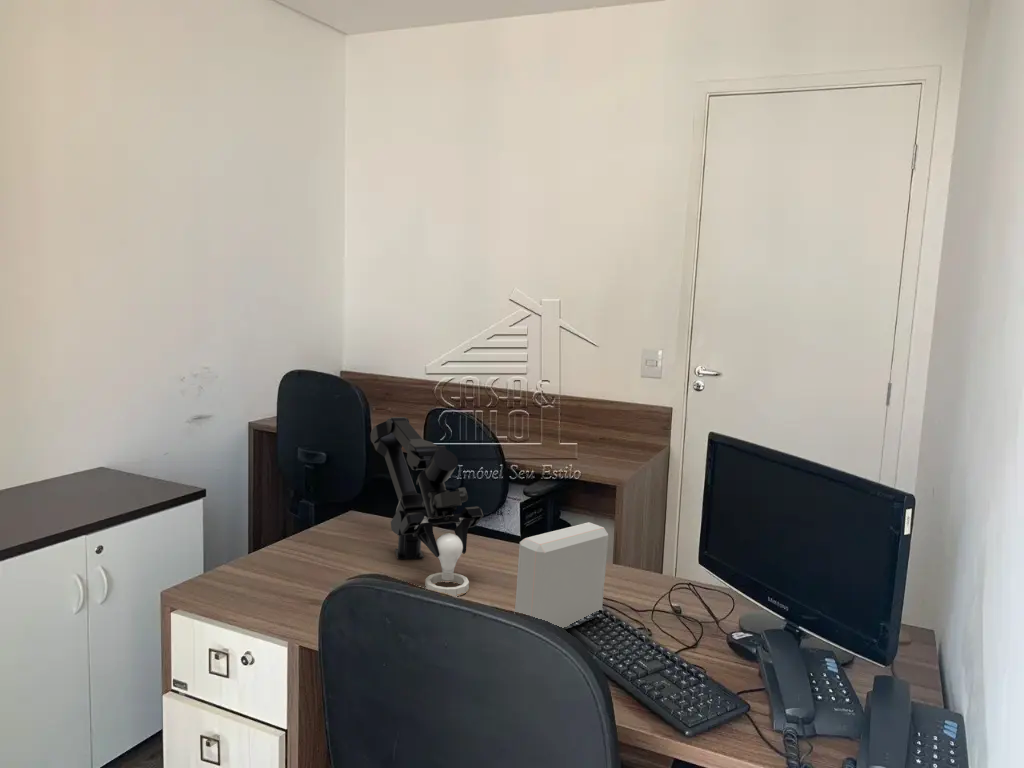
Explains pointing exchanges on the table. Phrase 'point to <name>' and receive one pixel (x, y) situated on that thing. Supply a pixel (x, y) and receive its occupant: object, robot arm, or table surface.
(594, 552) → the bevelled white case
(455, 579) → the socket
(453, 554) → the lightbulb
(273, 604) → the table surface
